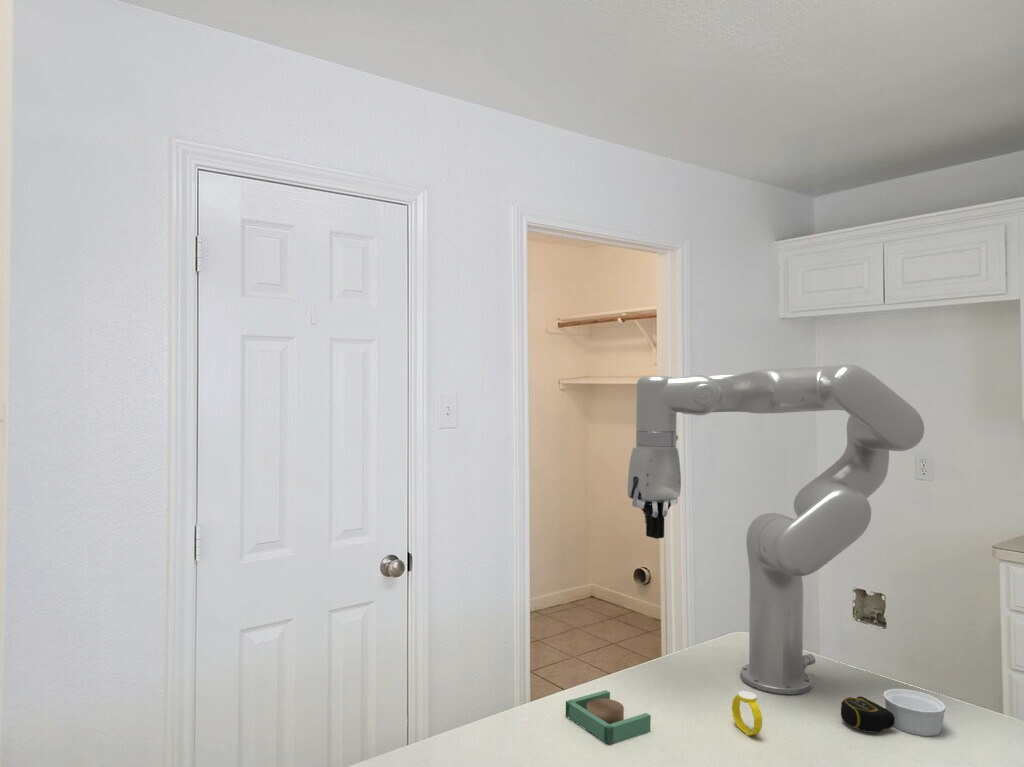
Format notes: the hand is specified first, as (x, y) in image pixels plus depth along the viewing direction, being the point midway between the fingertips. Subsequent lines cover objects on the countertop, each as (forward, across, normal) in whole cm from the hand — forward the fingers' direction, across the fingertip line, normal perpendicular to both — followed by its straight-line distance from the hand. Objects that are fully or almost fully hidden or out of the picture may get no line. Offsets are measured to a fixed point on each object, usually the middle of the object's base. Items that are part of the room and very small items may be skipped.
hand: (655, 536), depth 130 cm
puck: (+27, +19, +9) cm, 35 cm away
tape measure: (+28, -18, +31) cm, 45 cm away
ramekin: (+28, -25, +35) cm, 51 cm away
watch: (+27, +1, +22) cm, 35 cm away
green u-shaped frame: (+27, +18, +9) cm, 34 cm away
